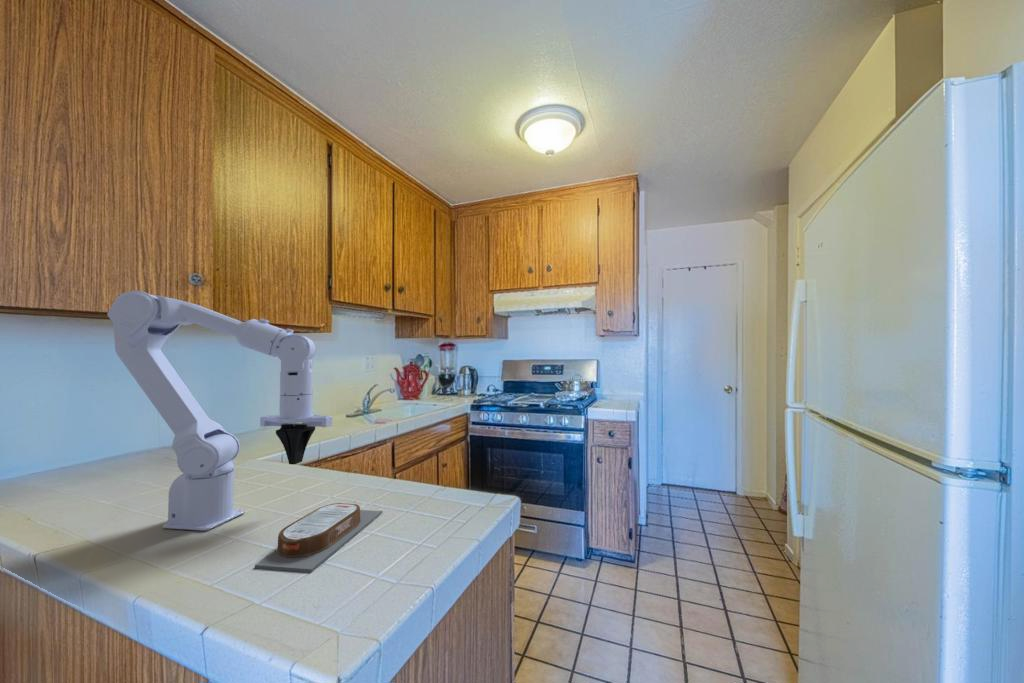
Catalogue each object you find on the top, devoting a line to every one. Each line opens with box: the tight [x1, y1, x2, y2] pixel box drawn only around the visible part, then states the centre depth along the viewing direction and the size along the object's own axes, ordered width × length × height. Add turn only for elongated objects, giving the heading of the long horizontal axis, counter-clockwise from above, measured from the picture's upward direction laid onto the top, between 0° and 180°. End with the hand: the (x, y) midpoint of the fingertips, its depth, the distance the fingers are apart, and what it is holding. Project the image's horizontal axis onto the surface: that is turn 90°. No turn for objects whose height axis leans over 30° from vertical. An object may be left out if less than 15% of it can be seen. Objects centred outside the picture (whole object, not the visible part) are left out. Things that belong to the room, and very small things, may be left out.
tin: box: [276, 502, 361, 558], centre depth 62 cm, size 15×3×8 cm
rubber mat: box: [254, 509, 383, 573], centre depth 62 cm, size 9×20×1 cm, turn 171°
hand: (295, 462), depth 73 cm, fingers closed
